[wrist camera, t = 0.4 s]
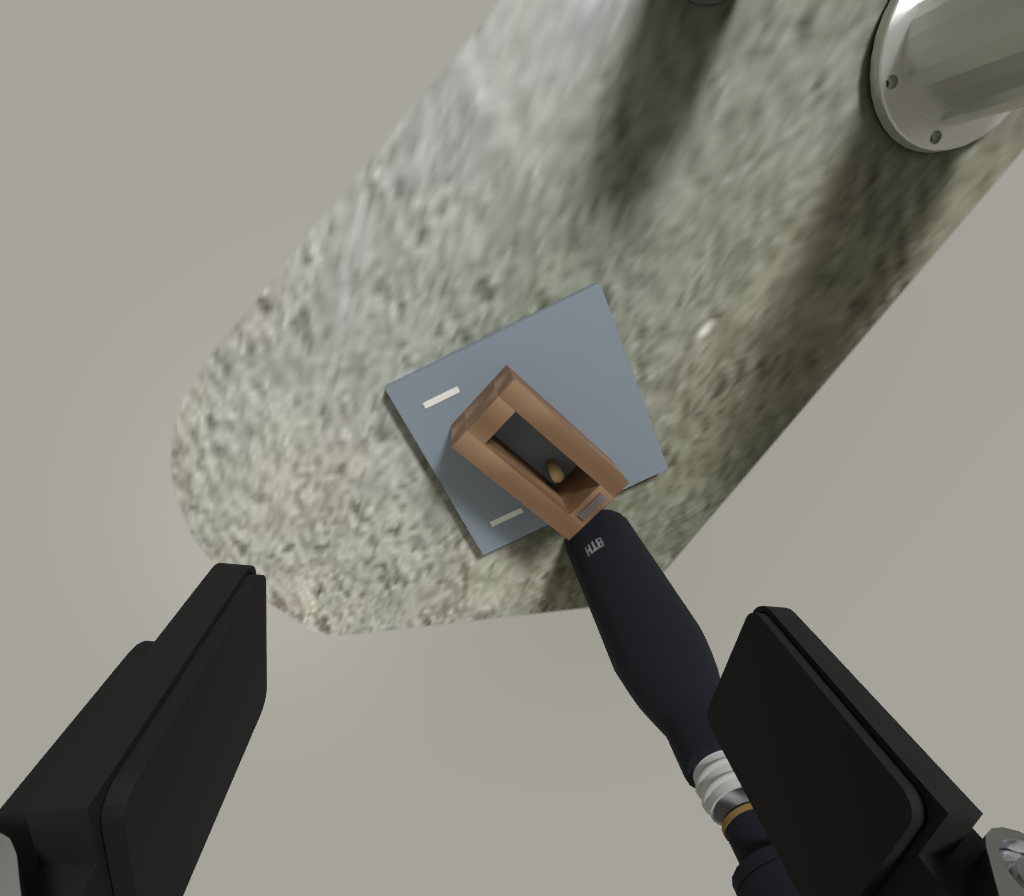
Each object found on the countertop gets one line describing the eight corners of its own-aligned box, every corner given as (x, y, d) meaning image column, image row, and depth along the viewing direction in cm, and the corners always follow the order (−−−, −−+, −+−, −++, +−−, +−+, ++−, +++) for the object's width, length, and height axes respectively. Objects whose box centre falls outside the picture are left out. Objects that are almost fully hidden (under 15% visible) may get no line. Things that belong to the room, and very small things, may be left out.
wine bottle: (618, 572, 48) (854, 1015, 20) (556, 561, 46) (717, 1018, 18) (641, 515, 45) (942, 919, 18) (578, 502, 44) (795, 916, 16)
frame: (506, 364, 38) (514, 380, 33) (609, 457, 42) (630, 483, 37) (451, 425, 39) (451, 448, 34) (556, 510, 43) (569, 541, 38)
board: (595, 282, 37) (610, 284, 34) (662, 463, 44) (680, 481, 40) (386, 385, 38) (380, 397, 35) (482, 547, 45) (484, 571, 41)
